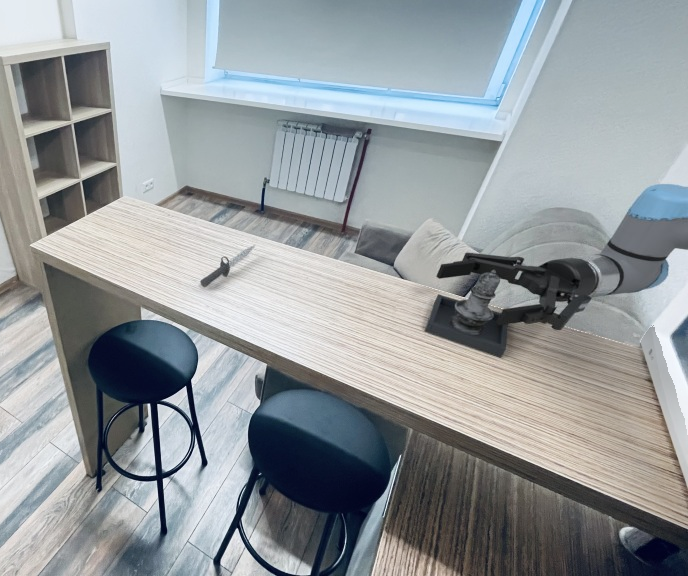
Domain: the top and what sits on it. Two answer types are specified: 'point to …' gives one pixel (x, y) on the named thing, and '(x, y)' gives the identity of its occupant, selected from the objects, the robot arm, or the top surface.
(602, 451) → the top surface
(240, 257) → the knife
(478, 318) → the salt shaker
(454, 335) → the serving tray
